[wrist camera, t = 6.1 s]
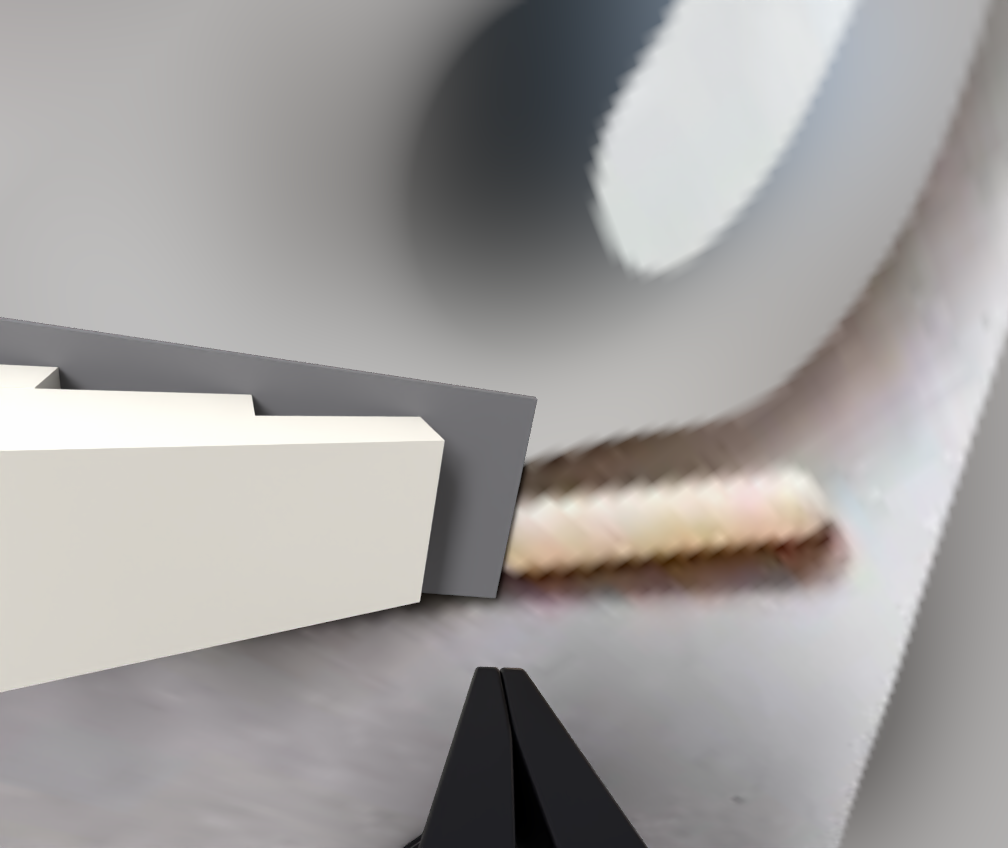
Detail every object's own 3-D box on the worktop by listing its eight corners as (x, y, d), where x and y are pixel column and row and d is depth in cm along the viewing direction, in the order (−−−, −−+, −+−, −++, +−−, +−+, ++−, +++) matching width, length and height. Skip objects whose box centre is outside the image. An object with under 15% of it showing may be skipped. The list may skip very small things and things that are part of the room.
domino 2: (419, 602, 13) (-41, 701, 9) (399, 564, 15) (-4, 632, 10) (444, 440, 12) (-97, 453, 7) (419, 416, 13) (-44, 413, 9)
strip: (535, 397, 14) (537, 399, 13) (494, 592, 16) (495, 598, 16) (-434, 252, 10) (-459, 251, 10) (-321, 529, 12) (-340, 535, 12)
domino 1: (251, 591, 13) (-351, 690, 8) (248, 553, 14) (-261, 617, 9) (255, 417, 11) (-483, 412, 6) (251, 394, 13) (-354, 377, 8)
